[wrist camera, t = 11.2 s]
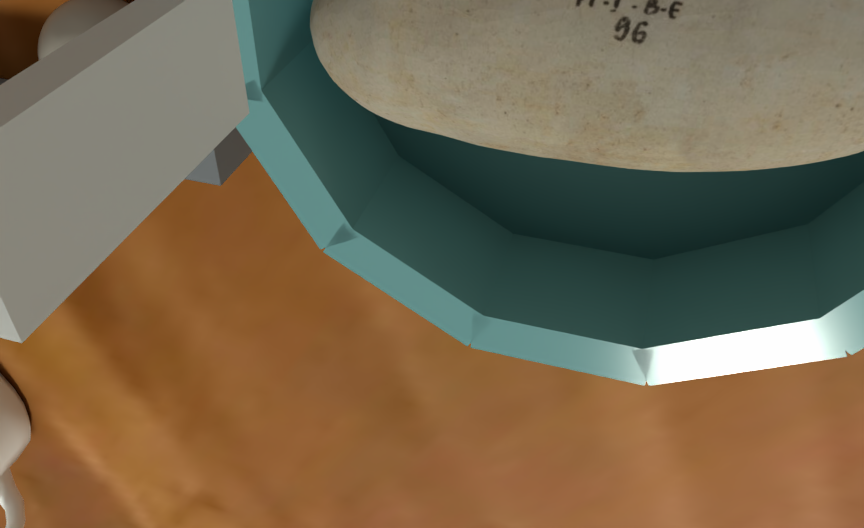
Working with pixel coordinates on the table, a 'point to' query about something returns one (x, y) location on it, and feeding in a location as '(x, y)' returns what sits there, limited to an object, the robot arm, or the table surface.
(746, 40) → the stone
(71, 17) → the white round ball
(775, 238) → the bowl
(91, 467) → the table surface
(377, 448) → the table surface
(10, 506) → the mug
